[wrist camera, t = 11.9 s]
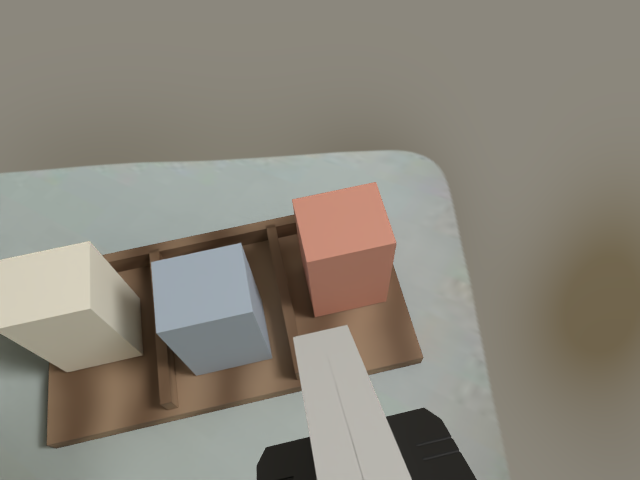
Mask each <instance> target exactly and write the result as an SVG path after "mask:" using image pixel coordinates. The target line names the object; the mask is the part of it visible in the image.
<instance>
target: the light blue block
mask: <svg viewBox="0 0 640 480" xmlns="http://www.w3.org/2000/svg"><path fill="white" fill-rule="evenodd" d="M151 269H152V282H153V296H154V309H155V323H156V333H157V335H158V336H159V337H160V338H161V339H162V340H163V341H164V342H165V343H166V344H167V345H168V346H169V347H170V348H171V349H172V350H173V352H174V353H175V354H176V355H177V356H178V357H179V358H180V359H181V360H182V361H183V362H184V363H185V364H186V365H187V366H188V367H189V368H190V370H191V371H192V372H193V373H194V374H195V375H196V376H198V375H202V374H207V373H211V372H215V371H220V370H224V369H228V368H233V367H237V366H242V365H246V364H250V363H255V362H259V361H263V360H268V359H272V354H271V348H270V343H269V337H268V332H267V326H266V321H265V315H264V310H263V304H262V300H261V297H260V294H259V291H258V289H257V286H256V283H255V280H254V277H253V275H252V272H251V269H250V266H249V264H248V261H247V258H246V255H245V253H244V250H243V247H242V244H241V243H238V244H234V245H229V246H224V247H220V248H215V249H210V250H206V251H201V252H196V253H192V254H187V255H182V256H177V257H173V258H168V259H163V260H159V261H154V262H151Z"/></svg>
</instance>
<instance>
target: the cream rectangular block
mask: <svg viewBox="0 0 640 480" xmlns="http://www.w3.org/2000/svg"><path fill="white" fill-rule="evenodd" d="M0 334H2V335H4V336H5V337H7V338H9V339H10V340H12V341H14V342H16V343H17V344H19V345H21V346H22V347H24V348H26V349H28V350H29V351H31V352H33V353H35V354H36V355H38V356H40V357H41V358H43V359H45V360H47V361H48V362H50V363H52V364H53V365H55V366H57V367H59V368H60V369H62V370H64V371H65V372H71V371H76V370H80V369H85V368H89V367H94V366H98V365H102V364H107V363H111V362H116V361H120V360H125V359H129V358H133V357H138V356H142V355H143V343H142V326H141V310H140V298H139V297H138V296H137V295H136V294H135V292H134V291H133V290H132V289H131V288H130V287H129V286H128V284H127V283H126V282H125V281H124V280H123V279H122V277H121V276H120V275H119V274H118V273H117V272H116V271H115V269H114V268H113V267H112V266H111V265H110V264H109V263H108V261H107V260H106V259H105V258H104V257H103V256H102V255H101V253H100V252H99V251H98V250H97V249H96V248H95V247H94V245H93V244H92V243H91V242H90V241H88V242H83V243H78V244H73V245H69V246H64V247H59V248H54V249H49V250H45V251H40V252H35V253H30V254H26V255H21V256H16V257H11V258H6V259H2V260H0Z"/></svg>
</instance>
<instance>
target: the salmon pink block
mask: <svg viewBox="0 0 640 480" xmlns="http://www.w3.org/2000/svg"><path fill="white" fill-rule="evenodd" d="M292 202H293V208H294V215H295V221H296V227H297V233H298V239H299V245H300V252H301V258H302V264H303V268H304V273H305V277H306V281H307V286H308V290H309V294H310V299H311V303H312V307H313V312H314V316H315V317H319V316H324V315H328V314H332V313H337V312H341V311H346V310H350V309H355V308H359V307H364V306H368V305H372V304H377V303H381V302H386V300H387V295H388V289H389V283H390V277H391V271H392V265H393V260H394V254H395V248H396V240H395V237H394V234H393V231H392V228H391V225H390V222H389V219H388V216H387V213H386V210H385V208H384V205H383V202H382V199H381V196H380V193H379V190H378V187H377V184H376V182H374V183H369V184H364V185H359V186H355V187H350V188H345V189H340V190H336V191H331V192H326V193H321V194H316V195H312V196H307V197H302V198H297V199H293V200H292Z"/></svg>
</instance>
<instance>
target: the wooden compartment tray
mask: <svg viewBox="0 0 640 480" xmlns="http://www.w3.org/2000/svg"><path fill="white" fill-rule="evenodd" d="M238 243H241V244H242V247H243V250H244V253H245V255H246V258H247V261H248V264H249V266H250V269H251V272H252V275H253V277H254V280H255V283H256V286H257V289H258V291H259V294H260V297H261V300H262V304H263V310H264V315H265V321H266V326H267V332H268V337H269V343H270V348H271V354H272V359H268V360H263V361H259V362H255V363H250V364H246V365H242V366H237V367H233V368H228V369H224V370H220V371H215V372H211V373H207V374H202V375H198V376H196V375H195V374H194V373H193V372H192V371H191V370H190V368H189V367H188V366H187V365H186V364H185V363H184V362H183V361H182V360H181V359H180V358H179V357H178V356H177V355H176V354H175V353H174V352H173V350H172V349H171V348H170V347H169V346H168V345H167V344H166V343H165V342H164V341H163V340H162V339H161V338H160V337H159V336H158V335H157V333H156V323H155V309H154V296H153V282H152V269H151V262H154V261H159V260H163V259H168V258H173V257H177V256H182V255H187V254H192V253H196V252H201V251H206V250H210V249H215V248H220V247H224V246H229V245H234V244H238ZM102 256H103V257H104V258H105V259H106V260H107V261H108V263H109V264H110V265H111V266H112V267H113V268H114V269H115V271H116V272H117V273H118V274H119V275H120V276H121V277H122V279H123V280H124V281H125V282H126V283H127V284H128V286H129V287H130V288H131V289H132V290H133V291H134V292H135V294H136V295H137V296H138V297H139V298H140V310H141V326H142V343H143V355H142V356H138V357H133V358H129V359H125V360H120V361H116V362H111V363H107V364H102V365H98V366H94V367H89V368H85V369H80V370H76V371H71V372H65V371H64V370H62V369H60V368H59V367H57V366H55V365H53V364H52V363H50V362H49V385H48V419H47V446H50V447H54V448H60V447H64V446H68V445H73V444H77V443H81V442H85V441H90V440H94V439H98V438H102V437H107V436H111V435H115V434H120V433H124V432H128V431H132V430H137V429H141V428H145V427H149V426H154V425H158V424H162V423H166V422H171V421H175V420H179V419H183V418H188V417H192V416H196V415H201V414H205V413H209V412H213V411H218V410H222V409H226V408H230V407H235V406H239V405H243V404H247V403H252V402H256V401H260V400H264V399H269V398H273V397H277V396H282V395H286V394H290V393H294V392H299V391H302V388H301V382H300V376H299V370H298V364H297V358H296V353H295V347H294V341H293V337H296V336H300V335H305V334H309V333H314V332H318V331H322V330H327V329H331V328H336V327H340V326H344V325H348V328H349V330H350V333H351V335H352V337H353V340H354V342H355V344H356V347H357V349H358V352H359V354H360V356H361V359H362V361H363V364H364V366H365V368H366V371H367V373H368V375H371V374H375V373H380V372H384V371H388V370H392V369H397V368H401V367H405V366H409V365H414V364H418V363H421V361H422V359H423V355H422V352H421V349H420V346H419V343H418V340H417V337H416V334H415V331H414V328H413V324H412V321H411V318H410V315H409V312H408V309H407V306H406V303H405V300H404V297H403V294H402V291H401V287H400V284H399V281H398V278H397V275H396V272H395V269H394V266H393V265H392V271H391V277H390V283H389V289H388V295H387V300H386V302H381V303H377V304H372V305H368V306H364V307H359V308H355V309H350V310H346V311H341V312H337V313H332V314H328V315H324V316H319V317H315V316H314V312H313V307H312V303H311V299H310V294H309V290H308V286H307V281H306V277H305V273H304V268H303V264H302V258H301V252H300V245H299V239H298V233H297V227H296V221H295V215H290V216H285V217H281V218H276V219H271V220H266V221H262V222H257V223H252V224H247V225H243V226H238V227H233V228H228V229H224V230H219V231H214V232H210V233H205V234H200V235H195V236H191V237H186V238H181V239H176V240H172V241H167V242H162V243H157V244H153V245H148V246H143V247H139V248H134V249H129V250H124V251H120V252H115V253H110V254H105V255H102Z"/></svg>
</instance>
